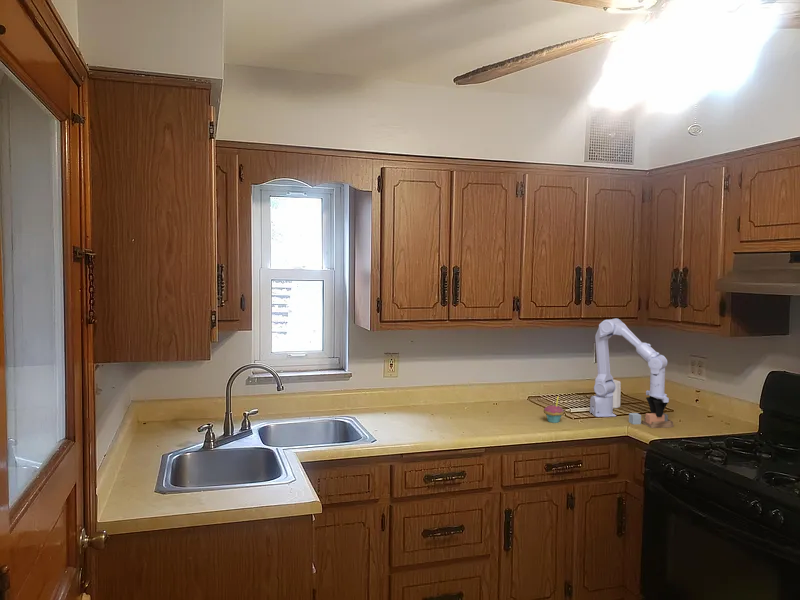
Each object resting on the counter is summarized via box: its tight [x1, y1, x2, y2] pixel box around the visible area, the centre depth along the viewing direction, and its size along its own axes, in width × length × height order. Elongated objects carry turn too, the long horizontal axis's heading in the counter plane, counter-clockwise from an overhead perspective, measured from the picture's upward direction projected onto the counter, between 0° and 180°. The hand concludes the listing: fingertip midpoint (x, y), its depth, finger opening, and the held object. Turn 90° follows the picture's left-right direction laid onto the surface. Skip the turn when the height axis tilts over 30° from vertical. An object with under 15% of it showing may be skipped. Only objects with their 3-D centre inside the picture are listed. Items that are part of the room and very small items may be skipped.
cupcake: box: [543, 394, 565, 424], centre depth 257 cm, size 9×8×12 cm
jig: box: [641, 417, 675, 429], centre depth 252 cm, size 10×8×2 cm
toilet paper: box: [613, 379, 622, 409], centre depth 285 cm, size 10×10×12 cm
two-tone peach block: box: [645, 412, 669, 424], centre depth 252 cm, size 8×4×4 cm, turn 96°
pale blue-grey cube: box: [628, 412, 642, 425], centre depth 255 cm, size 4×4×4 cm
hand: (656, 415), depth 252 cm, fingers closed on two-tone peach block, 4 cm apart
